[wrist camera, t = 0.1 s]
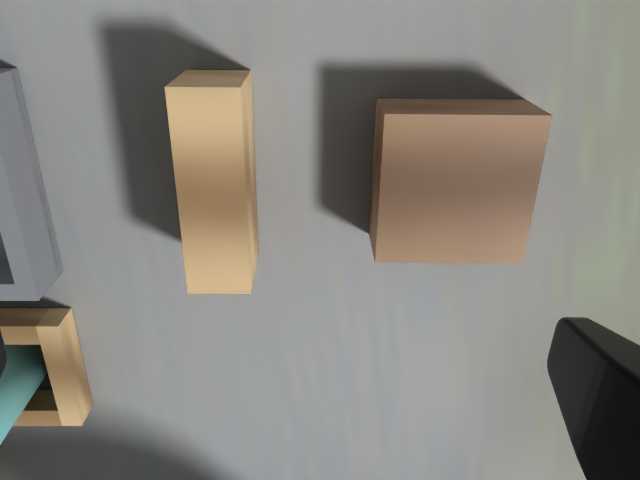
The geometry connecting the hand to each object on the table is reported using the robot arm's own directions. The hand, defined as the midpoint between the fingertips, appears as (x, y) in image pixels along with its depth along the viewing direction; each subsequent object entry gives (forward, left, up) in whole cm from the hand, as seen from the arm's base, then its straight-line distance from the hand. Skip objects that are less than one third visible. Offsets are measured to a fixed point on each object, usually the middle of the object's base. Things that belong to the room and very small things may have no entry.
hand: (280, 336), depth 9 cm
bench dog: (-2, +3, -15) cm, 15 cm away
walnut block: (-2, -6, -15) cm, 16 cm away
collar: (-12, +14, -15) cm, 24 cm away
